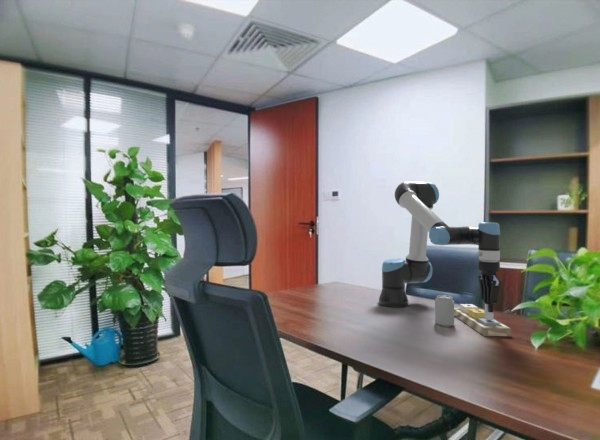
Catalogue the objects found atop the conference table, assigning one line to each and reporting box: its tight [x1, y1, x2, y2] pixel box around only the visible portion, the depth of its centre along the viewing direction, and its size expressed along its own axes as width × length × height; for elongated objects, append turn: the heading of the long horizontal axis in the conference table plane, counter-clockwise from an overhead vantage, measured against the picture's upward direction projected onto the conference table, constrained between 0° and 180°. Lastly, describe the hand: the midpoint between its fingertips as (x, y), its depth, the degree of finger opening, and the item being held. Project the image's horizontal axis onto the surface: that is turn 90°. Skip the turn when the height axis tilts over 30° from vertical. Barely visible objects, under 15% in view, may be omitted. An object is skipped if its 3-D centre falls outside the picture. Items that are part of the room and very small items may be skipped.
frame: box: [454, 307, 512, 337], centre depth 143 cm, size 30×10×3 cm, turn 178°
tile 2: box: [468, 308, 485, 319], centre depth 143 cm, size 6×6×3 cm
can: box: [434, 294, 455, 328], centre depth 142 cm, size 8×8×12 cm
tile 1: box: [459, 303, 479, 314], centre depth 152 cm, size 6×6×3 cm
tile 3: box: [478, 318, 501, 326], centre depth 135 cm, size 6×6×3 cm
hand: (489, 319), depth 134 cm, fingers closed
